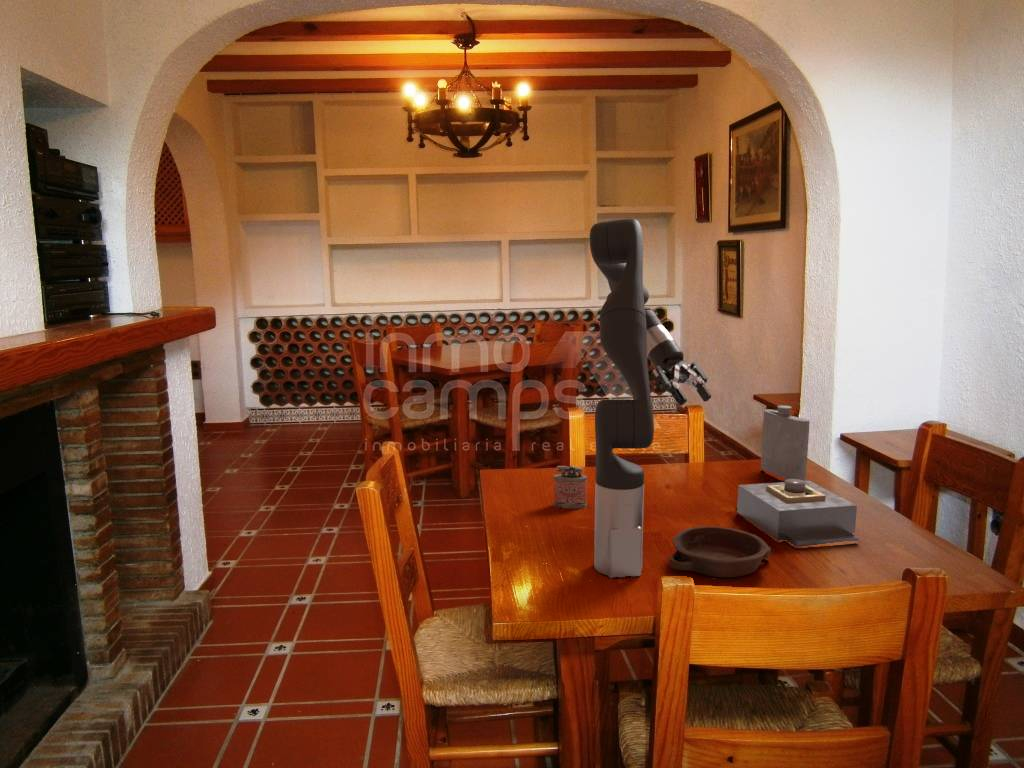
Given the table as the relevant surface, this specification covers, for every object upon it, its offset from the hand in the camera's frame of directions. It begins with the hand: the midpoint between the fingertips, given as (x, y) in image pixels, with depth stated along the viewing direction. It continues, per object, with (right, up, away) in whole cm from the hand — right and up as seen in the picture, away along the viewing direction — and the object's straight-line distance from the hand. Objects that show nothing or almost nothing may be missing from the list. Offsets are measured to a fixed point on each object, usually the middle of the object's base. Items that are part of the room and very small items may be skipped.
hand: (696, 401), depth 171 cm
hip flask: (+30, -22, +29) cm, 47 cm away
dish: (-2, -32, -27) cm, 42 cm away
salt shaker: (+20, -28, -6) cm, 35 cm away
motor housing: (+20, -28, -6) cm, 35 cm away
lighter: (-29, -26, +8) cm, 39 cm away
